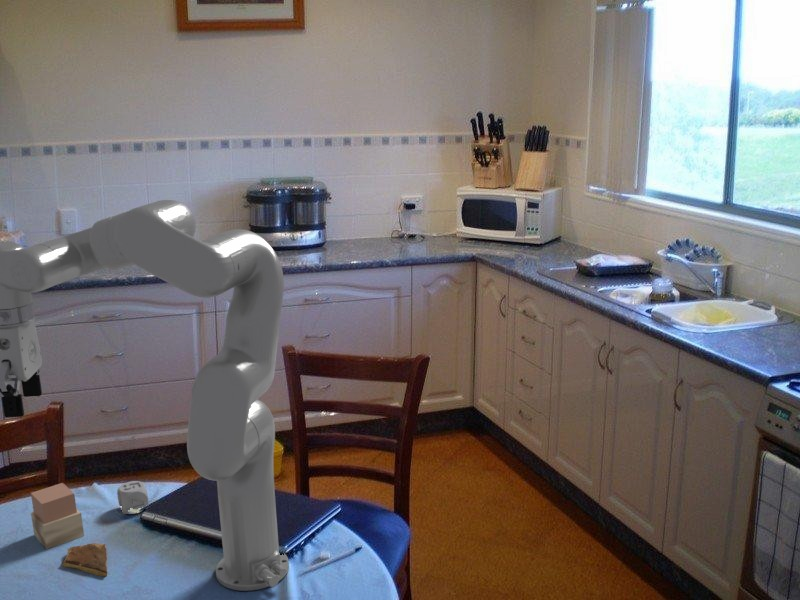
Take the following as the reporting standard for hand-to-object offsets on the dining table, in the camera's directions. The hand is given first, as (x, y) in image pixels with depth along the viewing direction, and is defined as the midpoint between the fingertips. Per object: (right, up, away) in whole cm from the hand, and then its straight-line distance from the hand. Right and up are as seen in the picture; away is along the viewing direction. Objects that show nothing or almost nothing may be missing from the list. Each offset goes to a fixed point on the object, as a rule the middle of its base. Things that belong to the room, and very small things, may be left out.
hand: (24, 405), depth 157 cm
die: (+14, -23, +19) cm, 33 cm away
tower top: (+2, -21, +9) cm, 23 cm away
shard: (+12, -29, +1) cm, 31 cm away
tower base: (+2, -26, +10) cm, 28 cm away
